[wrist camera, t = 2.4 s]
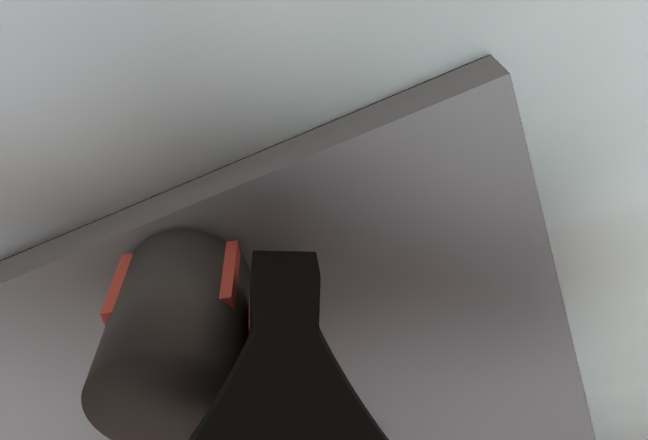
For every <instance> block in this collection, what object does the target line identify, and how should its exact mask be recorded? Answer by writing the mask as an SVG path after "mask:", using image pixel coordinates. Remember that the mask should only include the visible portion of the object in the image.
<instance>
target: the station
mask: <svg viewBox="0 0 648 440" xmlns="http://www.w3.org/2000/svg"><path fill="white" fill-rule="evenodd" d="M173 230H195V231H201V232H205V233H209V234H212V235H214V236H217V237H219V238H221V239H223V240H225V241H226V242H227V241H235V240H237V241H238V245H239V249H240V253H241V255H242V256H243V258H244V259H245V260H246V262H247V264H248V267H249V270H250V273H251V262H252V253H253V250H258V251H305V252H316V254H317V259H318V263H319V269H320V276H321V283H320V315H319V327H320V329H321V331H322V333H323V335H324V338H325V340H326V342H327V343H328V345H329V347H330V349H331V351H332V353H333V355H334V356H335V358H336V360H337V362H338V363H339V365H340V367H341V368H342V370H343V372H344V374H345V375H346V377H347V379H348V380H349V382H350V384H351V385H352V387H353V388H354V390H355V392H356V393H357V395H358V396H359V398H360V399H361V401H362V402H363V404H364V405H365V407H366V408H367V410H368V411H369V413H370V414H371V415H372V417H373V418H374V420H375V421H376V423H377V424H378V426H379V427H380V428H381V430H382V431H383V432H384V434H385V435H386V436H387V438H388V439H389V440H596V439H595V435H594V431H593V426H592V422H591V418H590V414H589V409H588V405H587V401H586V397H585V392H584V388H583V384H582V379H581V375H580V371H579V367H578V362H577V358H576V354H575V350H574V345H573V341H572V337H571V333H570V328H569V324H568V320H567V315H566V311H565V307H564V303H563V298H562V294H561V290H560V286H559V281H558V277H557V273H556V268H555V264H554V260H553V256H552V251H551V247H550V243H549V239H548V234H547V230H546V226H545V222H544V217H543V213H542V209H541V204H540V200H539V196H538V192H537V187H536V183H535V179H534V175H533V170H532V166H531V162H530V158H529V153H528V149H527V145H526V140H525V136H524V132H523V128H522V123H521V119H520V115H519V111H518V106H517V102H516V98H515V93H514V89H513V85H512V81H511V76H510V73H509V72H508V71H507V70H506V69H505V68H504V67H503V66H502V65H501V64H500V63H499V62H498V61H497V60H496V59H495V58H494V57H493V56H492V55H489V56H486V57H484V58H482V59H479V60H477V61H475V62H472V63H470V64H467V65H465V66H463V67H460V68H458V69H456V70H453V71H451V72H448V73H446V74H444V75H441V76H439V77H437V78H434V79H432V80H429V81H427V82H425V83H422V84H420V85H418V86H415V87H413V88H410V89H408V90H406V91H403V92H401V93H399V94H396V95H394V96H391V97H389V98H387V99H384V100H382V101H380V102H377V103H375V104H372V105H370V106H368V107H365V108H363V109H361V110H358V111H356V112H354V113H351V114H349V115H346V116H344V117H342V118H339V119H337V120H335V121H332V122H330V123H327V124H325V125H323V126H320V127H318V128H316V129H313V130H311V131H308V132H306V133H304V134H301V135H299V136H297V137H294V138H292V139H289V140H287V141H285V142H282V143H280V144H278V145H275V146H273V147H270V148H268V149H266V150H263V151H261V152H259V153H256V154H254V155H252V156H249V157H247V158H244V159H242V160H240V161H237V162H235V163H233V164H230V165H228V166H225V167H223V168H221V169H218V170H216V171H214V172H211V173H209V174H206V175H204V176H202V177H199V178H197V179H195V180H192V181H190V182H187V183H185V184H183V185H180V186H178V187H176V188H173V189H171V190H168V191H166V192H164V193H161V194H159V195H157V196H154V197H152V198H149V199H147V200H145V201H142V202H140V203H138V204H135V205H133V206H131V207H128V208H126V209H123V210H121V211H119V212H116V213H114V214H112V215H109V216H107V217H104V218H102V219H100V220H97V221H95V222H93V223H90V224H88V225H85V226H83V227H81V228H78V229H76V230H74V231H71V232H69V233H66V234H64V235H62V236H59V237H57V238H55V239H52V240H50V241H47V242H45V243H43V244H40V245H38V246H36V247H33V248H31V249H28V250H26V251H24V252H21V253H19V254H17V255H14V256H12V257H10V258H7V259H5V260H2V261H0V440H111V439H109V438H107V437H106V436H104V435H103V434H101V433H100V432H99V431H98V430H97V429H95V428H94V426H93V425H92V424H91V423H90V422H89V420H88V419H87V417H86V416H85V414H84V411H83V409H82V404H81V394H82V389H83V387H84V384H85V381H86V378H87V376H88V373H89V370H90V367H91V365H92V362H93V359H94V356H95V354H96V351H97V348H98V345H99V343H100V340H101V337H102V334H103V332H104V329H105V324H104V322H103V320H102V318H101V316H100V311H101V308H102V306H103V303H104V301H105V298H106V295H107V293H108V290H109V288H110V285H111V282H112V280H113V277H114V275H115V272H116V270H117V267H118V264H119V262H120V259H121V257H122V254H130V253H134V251H135V250H136V249H137V248H138V247H139V246H140V245H141V244H142V243H143V242H144V241H146V240H148V239H149V238H151V237H153V236H155V235H158V234H160V233H164V232H168V231H173Z"/></svg>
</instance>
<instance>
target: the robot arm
mask: <svg viewBox="0 0 648 440" xmlns="http://www.w3.org/2000/svg"><path fill="white" fill-rule="evenodd" d="M320 283H321V276H320V269H319V263H318V259H317V254H316V252H305V251H258V250H253V253H252V262H251V273H250V335H249V337H248V339H247V341H246V343H245V345H244V347H243V349H242V351H241V353H240V355H239V357H238V359H237V360H236V362H235V364H234V366H233V368H232V370H231V372H230V374H229V376H228V377H227V379H226V381H225V383H224V384H223V386H222V388H221V389H220V391H219V393H218V394H217V396H216V398H215V399H214V401H213V403H212V404H211V406H210V407H209V409H208V411H207V412H206V414H205V415H204V417H203V418H202V420H201V422H200V423H199V425H198V426H197V428H196V429H195V431H194V432H193V433H192V435H191V436H190V438H189V439H188V440H389V439H388V438H387V436H386V435H385V434H384V432H383V431H382V430H381V428H380V427H379V426H378V424H377V423H376V421H375V420H374V418H373V417H372V415H371V414H370V413H369V411H368V410H367V408H366V407H365V405H364V404H363V402H362V401H361V399H360V398H359V396H358V395H357V393H356V392H355V390H354V388H353V387H352V385H351V384H350V382H349V380H348V379H347V377H346V375H345V374H344V372H343V370H342V368H341V367H340V365H339V363H338V362H337V360H336V358H335V356H334V355H333V353H332V351H331V349H330V347H329V345H328V343H327V342H326V340H325V338H324V335H323V333H322V331H321V329H320V327H319V315H320Z"/></svg>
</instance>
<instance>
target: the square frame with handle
mask: <svg viewBox="0 0 648 440" xmlns="http://www.w3.org/2000/svg"><path fill="white" fill-rule="evenodd" d="M100 316H101V318H102V320H103V322H104V324H105V329H104V332H103V334H102V337H101V340H100V343H99V345H98V348H97V351H96V354H95V356H94V359H93V362H92V365H91V367H90V370H89V373H88V376H87V378H86V381H85V384H84V387H83V389H82V394H81V404H82V409H83V411H84V414H85V416H86V417H87V419H88V420H89V422H90V423H91V424H92V425H93V426H94V428H95V429H97V430H98V431H99V432H100V433H101V434H103V435H104V436H106V437H107V438H109V439H111V440H188V439H189V438H190V436H191V435H192V433H193V432H194V431H195V429H196V428H197V426H198V425H199V423H200V422H201V420H202V418H203V417H204V415H205V414H206V412H207V411H208V409H209V407H210V406H211V404H212V403H213V401H214V399H215V398H216V396H217V394H218V393H219V391H220V389H221V388H222V386H223V384H224V383H225V381H226V379H227V377H228V376H229V374H230V372H231V370H232V368H233V366H234V364H235V362H236V360H237V359H238V357H239V355H240V353H241V351H242V349H243V347H244V345H245V343H246V341H247V339H248V337H249V335H250V270H249V267H248V264H247V262H246V260H245V259H244V258H243V256H242V255H241V253H240V249H239V245H238V241H237V240H235V241H227V242H226V241H225V240H223V239H221V238H219V237H217V236H214V235H212V234H209V233H205V232H201V231H195V230H173V231H168V232H164V233H160V234H158V235H155V236H153V237H151V238H149V239H148V240H146V241H144V242H143V243H142V244H141V245H140V246H139V247H138V248H137V249H136V250H135V251H134V253H130V254H122V257H121V259H120V262H119V264H118V267H117V270H116V272H115V275H114V277H113V280H112V282H111V285H110V288H109V290H108V293H107V295H106V298H105V301H104V303H103V306H102V308H101V311H100Z"/></svg>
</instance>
